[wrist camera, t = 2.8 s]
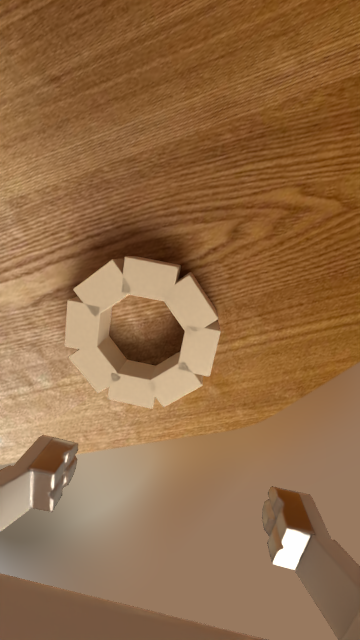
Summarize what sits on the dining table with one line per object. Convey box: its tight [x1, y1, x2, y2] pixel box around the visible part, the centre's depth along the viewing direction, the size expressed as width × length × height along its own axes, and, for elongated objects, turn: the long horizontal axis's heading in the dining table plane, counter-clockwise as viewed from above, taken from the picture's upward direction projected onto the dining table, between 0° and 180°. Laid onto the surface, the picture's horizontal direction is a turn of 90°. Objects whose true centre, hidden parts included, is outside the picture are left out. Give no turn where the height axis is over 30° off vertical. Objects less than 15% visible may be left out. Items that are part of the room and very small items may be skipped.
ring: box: [65, 256, 221, 409], centre depth 23 cm, size 13×13×3 cm
